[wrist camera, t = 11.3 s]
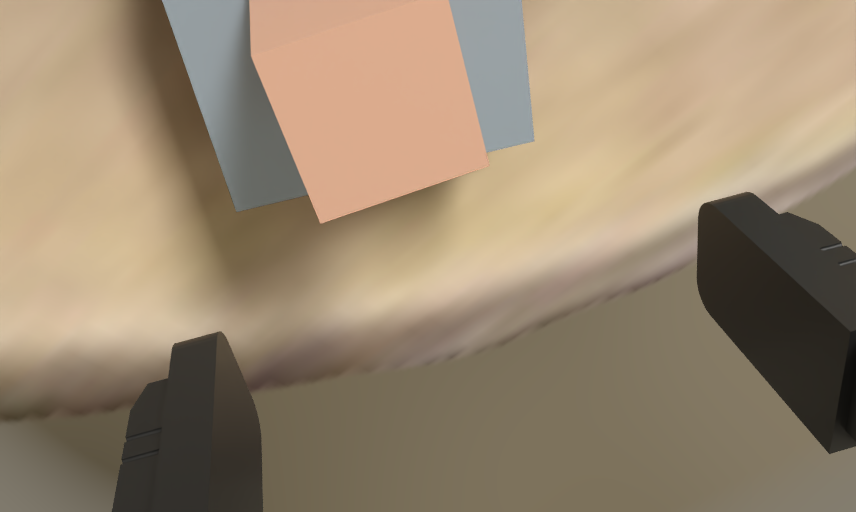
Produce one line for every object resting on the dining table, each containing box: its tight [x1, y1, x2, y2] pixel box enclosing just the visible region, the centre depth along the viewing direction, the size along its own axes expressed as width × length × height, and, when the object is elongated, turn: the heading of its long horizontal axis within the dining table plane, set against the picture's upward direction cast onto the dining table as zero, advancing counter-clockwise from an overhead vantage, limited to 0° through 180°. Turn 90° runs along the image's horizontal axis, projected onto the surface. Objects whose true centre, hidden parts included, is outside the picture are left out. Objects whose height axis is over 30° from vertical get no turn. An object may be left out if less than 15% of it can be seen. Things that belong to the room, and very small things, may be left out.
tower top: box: [162, 0, 534, 212], centre depth 28 cm, size 12×12×4 cm
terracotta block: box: [249, 0, 490, 224], centre depth 23 cm, size 5×5×8 cm
